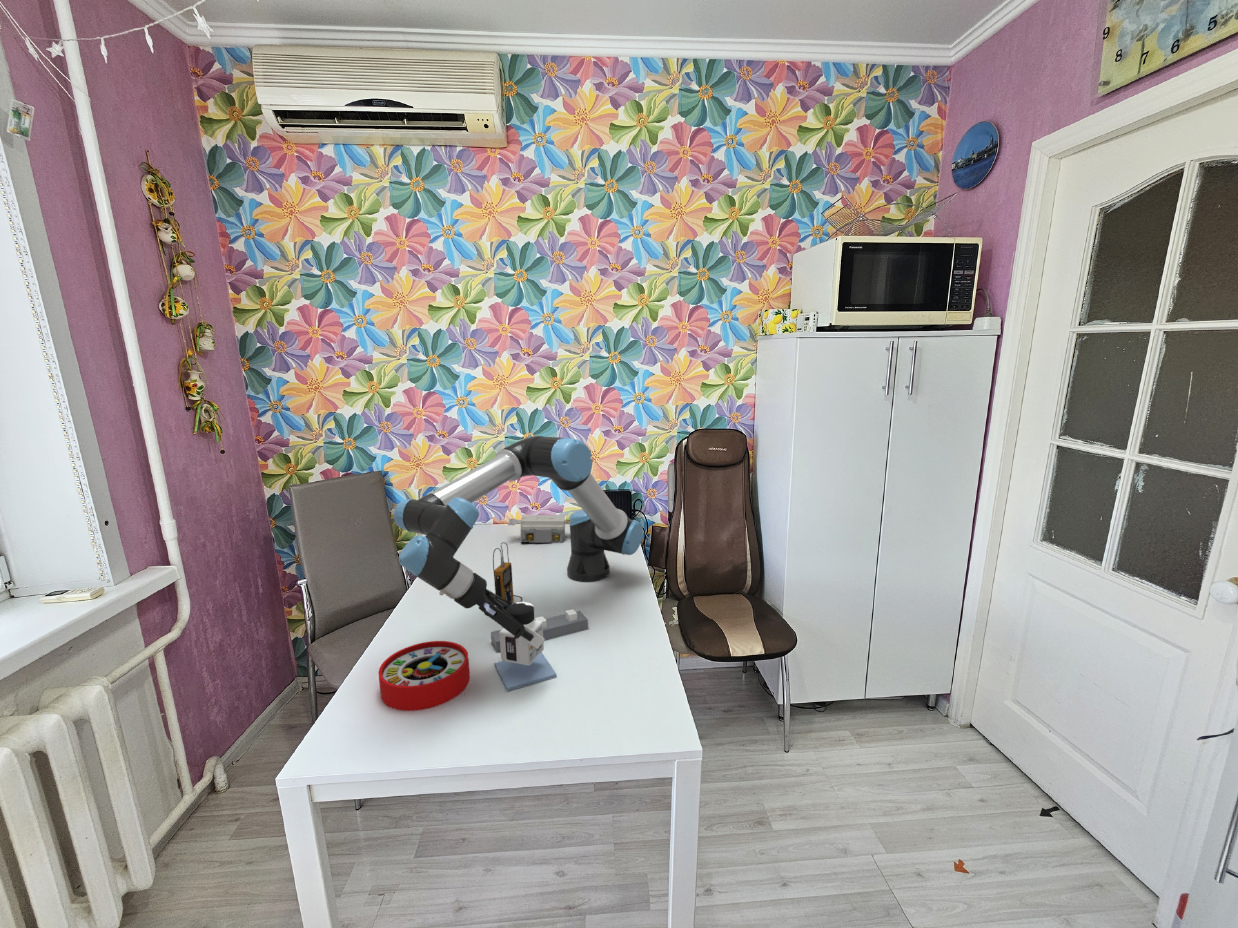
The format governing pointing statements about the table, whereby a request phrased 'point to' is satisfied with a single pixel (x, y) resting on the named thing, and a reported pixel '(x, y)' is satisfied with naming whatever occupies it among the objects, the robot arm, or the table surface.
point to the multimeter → (504, 579)
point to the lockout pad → (524, 672)
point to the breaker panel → (553, 626)
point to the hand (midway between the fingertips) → (533, 633)
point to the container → (518, 647)
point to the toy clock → (424, 675)
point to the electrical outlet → (541, 528)
